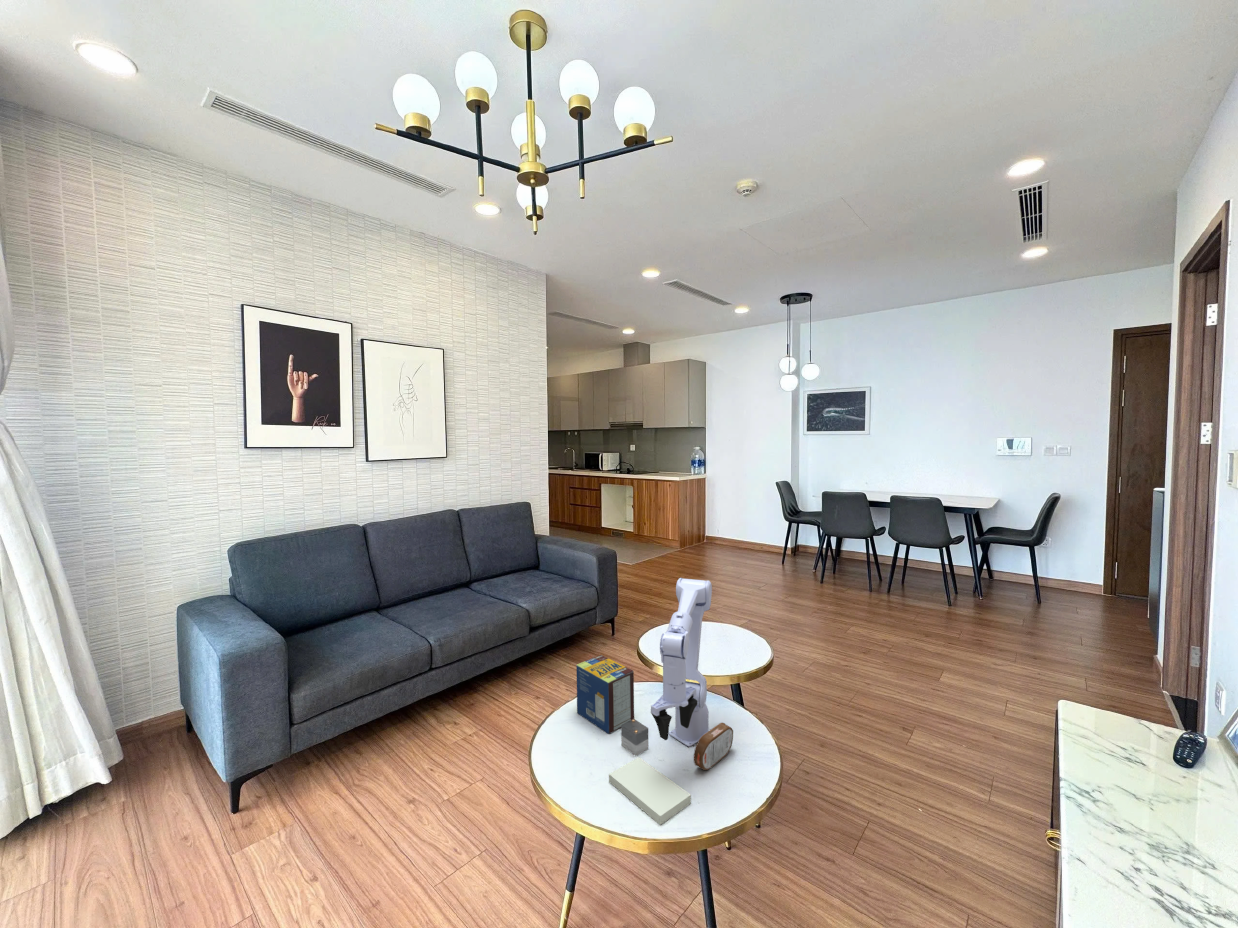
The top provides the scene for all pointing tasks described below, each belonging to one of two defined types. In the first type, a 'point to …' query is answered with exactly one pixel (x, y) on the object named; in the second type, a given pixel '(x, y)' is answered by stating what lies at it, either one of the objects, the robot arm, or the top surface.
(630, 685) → the protein box
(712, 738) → the tin
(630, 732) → the housing
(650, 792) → the sage stand
